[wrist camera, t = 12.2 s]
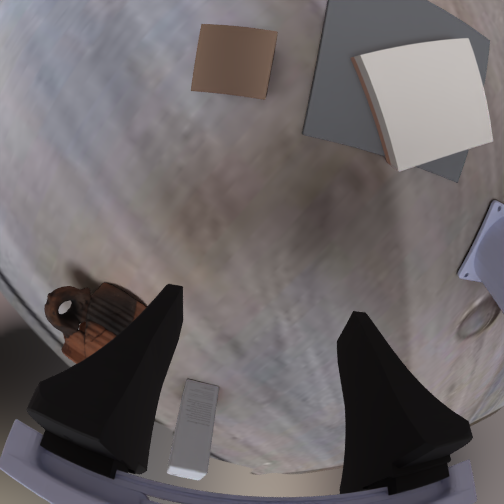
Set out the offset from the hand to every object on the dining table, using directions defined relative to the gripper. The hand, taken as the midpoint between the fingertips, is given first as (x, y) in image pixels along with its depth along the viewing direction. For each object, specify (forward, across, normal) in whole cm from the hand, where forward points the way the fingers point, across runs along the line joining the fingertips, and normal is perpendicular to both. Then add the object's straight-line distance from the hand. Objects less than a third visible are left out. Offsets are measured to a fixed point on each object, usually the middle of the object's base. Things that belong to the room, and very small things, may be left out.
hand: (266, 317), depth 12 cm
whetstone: (+8, -10, -8) cm, 15 cm away
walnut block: (+9, +3, -10) cm, 14 cm away
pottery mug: (+10, +14, +13) cm, 21 cm away
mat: (+9, -7, -12) cm, 17 cm away
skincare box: (+10, +4, +26) cm, 28 cm away
